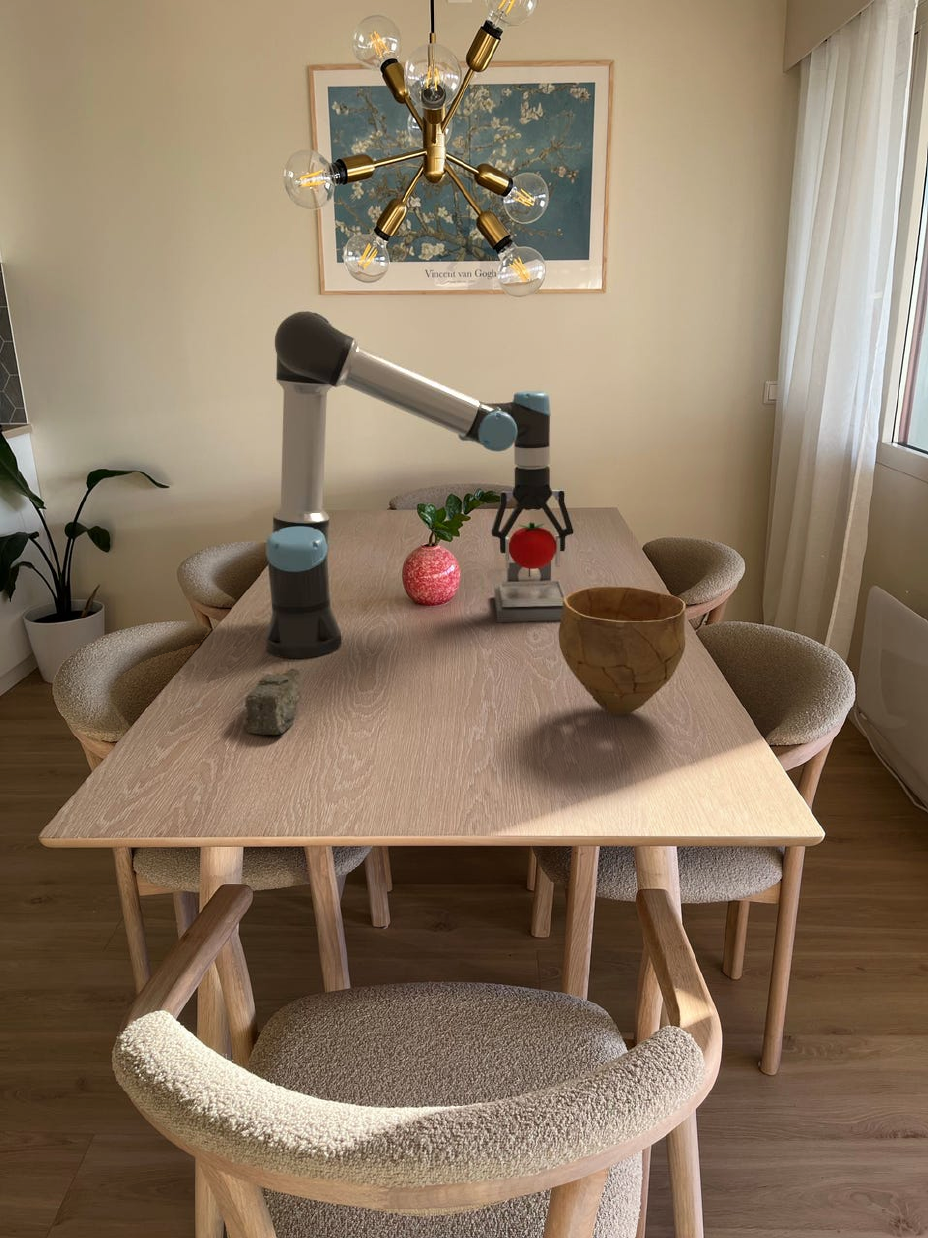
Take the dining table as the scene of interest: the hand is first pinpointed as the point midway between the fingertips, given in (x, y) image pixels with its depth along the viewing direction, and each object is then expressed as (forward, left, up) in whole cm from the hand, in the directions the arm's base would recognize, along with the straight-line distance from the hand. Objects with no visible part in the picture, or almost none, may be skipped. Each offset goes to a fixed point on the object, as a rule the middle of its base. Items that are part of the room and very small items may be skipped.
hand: (532, 566), depth 206 cm
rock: (-55, +48, -11) cm, 74 cm away
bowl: (-57, -10, -10) cm, 58 cm away
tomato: (0, 0, -1) cm, 1 cm away
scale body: (+1, 0, -10) cm, 10 cm away
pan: (0, 0, -8) cm, 8 cm away
